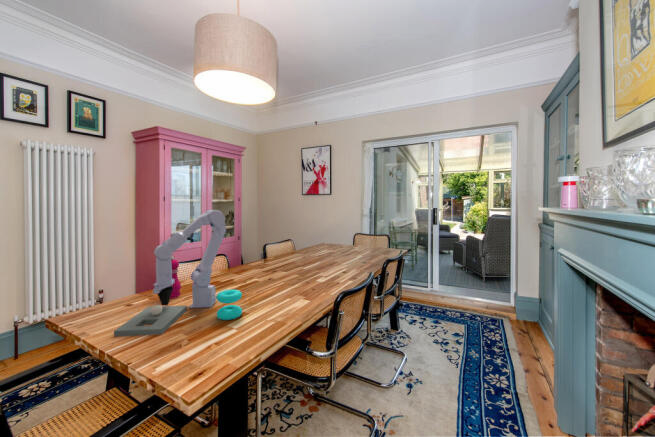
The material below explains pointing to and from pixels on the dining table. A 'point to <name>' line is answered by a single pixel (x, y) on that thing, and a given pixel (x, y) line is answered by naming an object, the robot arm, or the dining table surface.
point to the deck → (151, 322)
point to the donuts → (229, 310)
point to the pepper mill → (177, 284)
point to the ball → (156, 309)
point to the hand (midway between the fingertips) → (165, 304)
